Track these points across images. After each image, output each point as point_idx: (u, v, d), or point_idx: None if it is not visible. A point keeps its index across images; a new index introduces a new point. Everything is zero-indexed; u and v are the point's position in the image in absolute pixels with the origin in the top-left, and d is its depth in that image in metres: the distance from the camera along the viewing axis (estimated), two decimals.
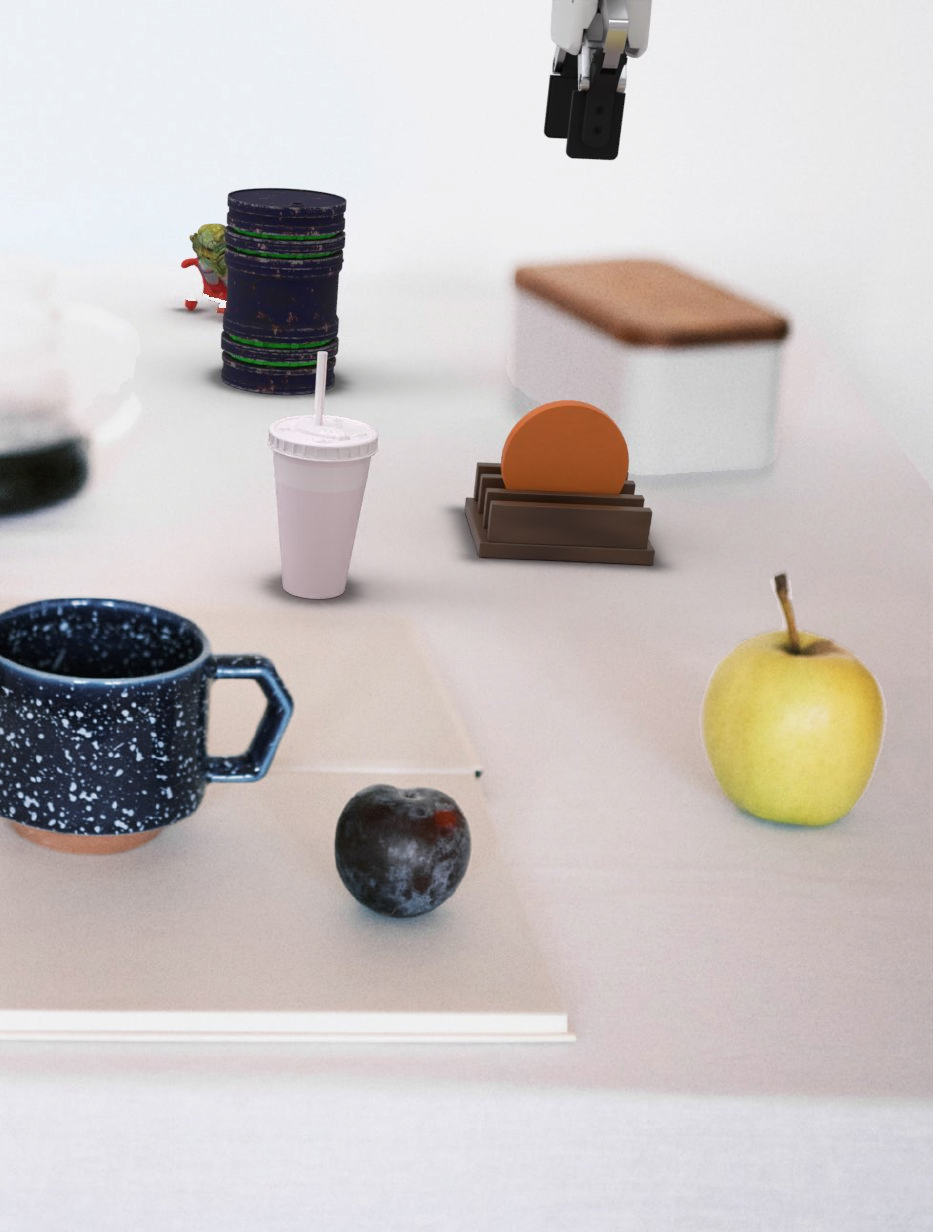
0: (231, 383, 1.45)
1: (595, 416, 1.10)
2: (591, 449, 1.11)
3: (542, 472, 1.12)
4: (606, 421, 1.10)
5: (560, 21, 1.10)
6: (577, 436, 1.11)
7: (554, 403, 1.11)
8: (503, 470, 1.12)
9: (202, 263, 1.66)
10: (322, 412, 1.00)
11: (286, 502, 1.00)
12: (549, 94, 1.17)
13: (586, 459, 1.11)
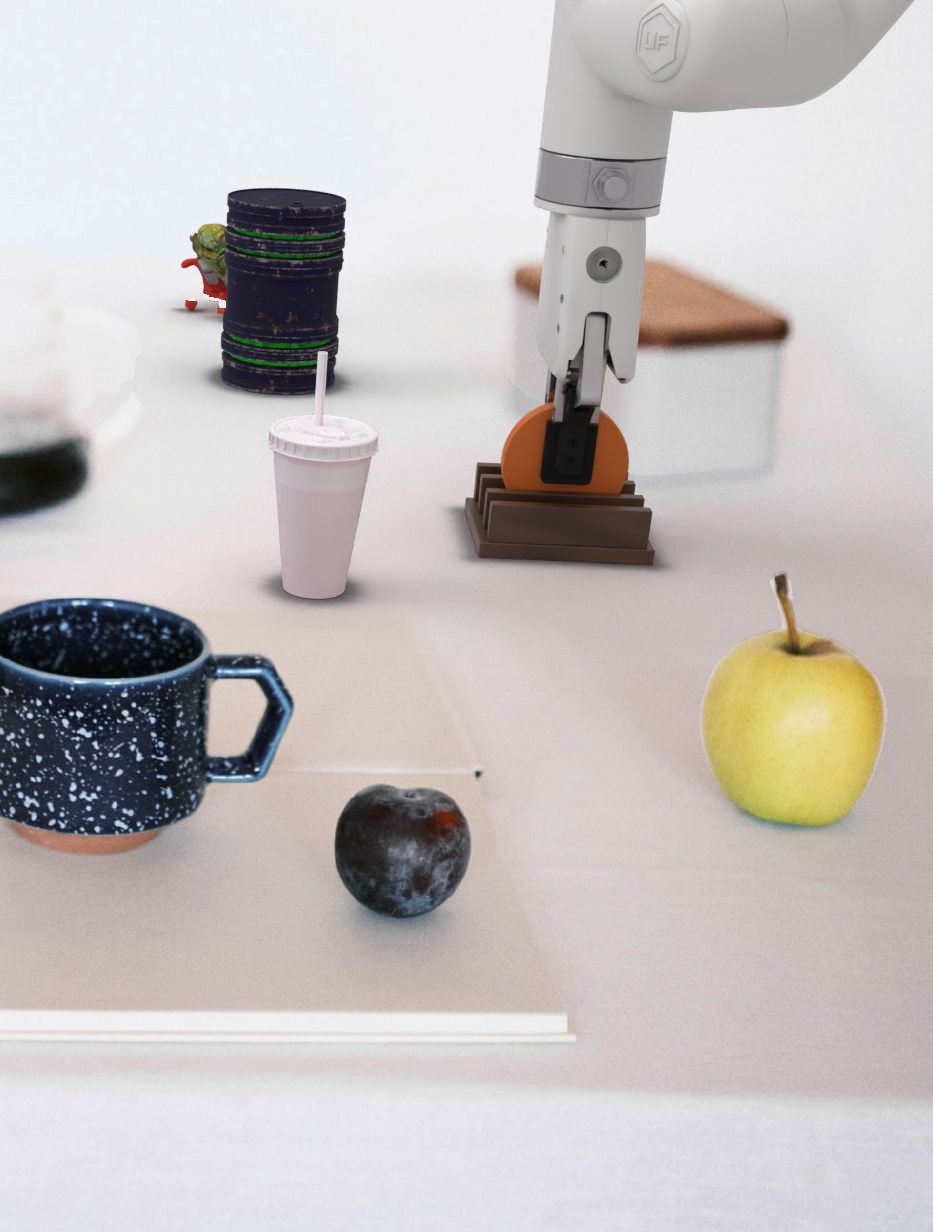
0: (231, 383, 1.45)
1: None
2: None
3: None
4: (606, 421, 1.10)
5: (545, 341, 1.08)
6: None
7: None
8: (503, 470, 1.12)
9: (202, 263, 1.66)
10: (322, 412, 1.00)
11: (286, 502, 1.00)
12: None
13: None
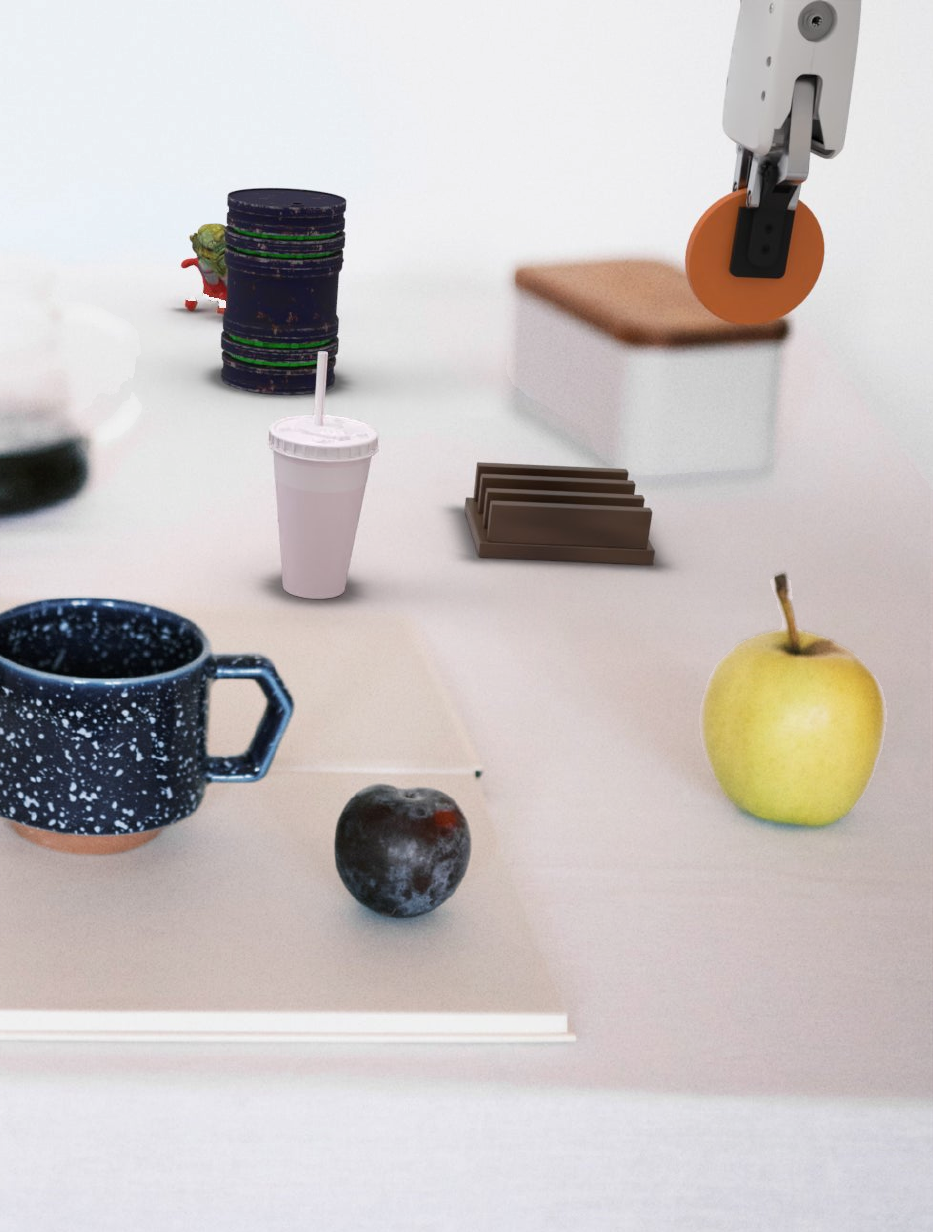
0: (231, 383, 1.45)
1: None
2: None
3: None
4: (802, 208, 1.03)
5: (742, 117, 1.01)
6: None
7: (745, 189, 1.03)
8: (689, 263, 1.05)
9: (202, 263, 1.66)
10: (322, 412, 1.00)
11: (287, 502, 1.00)
12: None
13: None
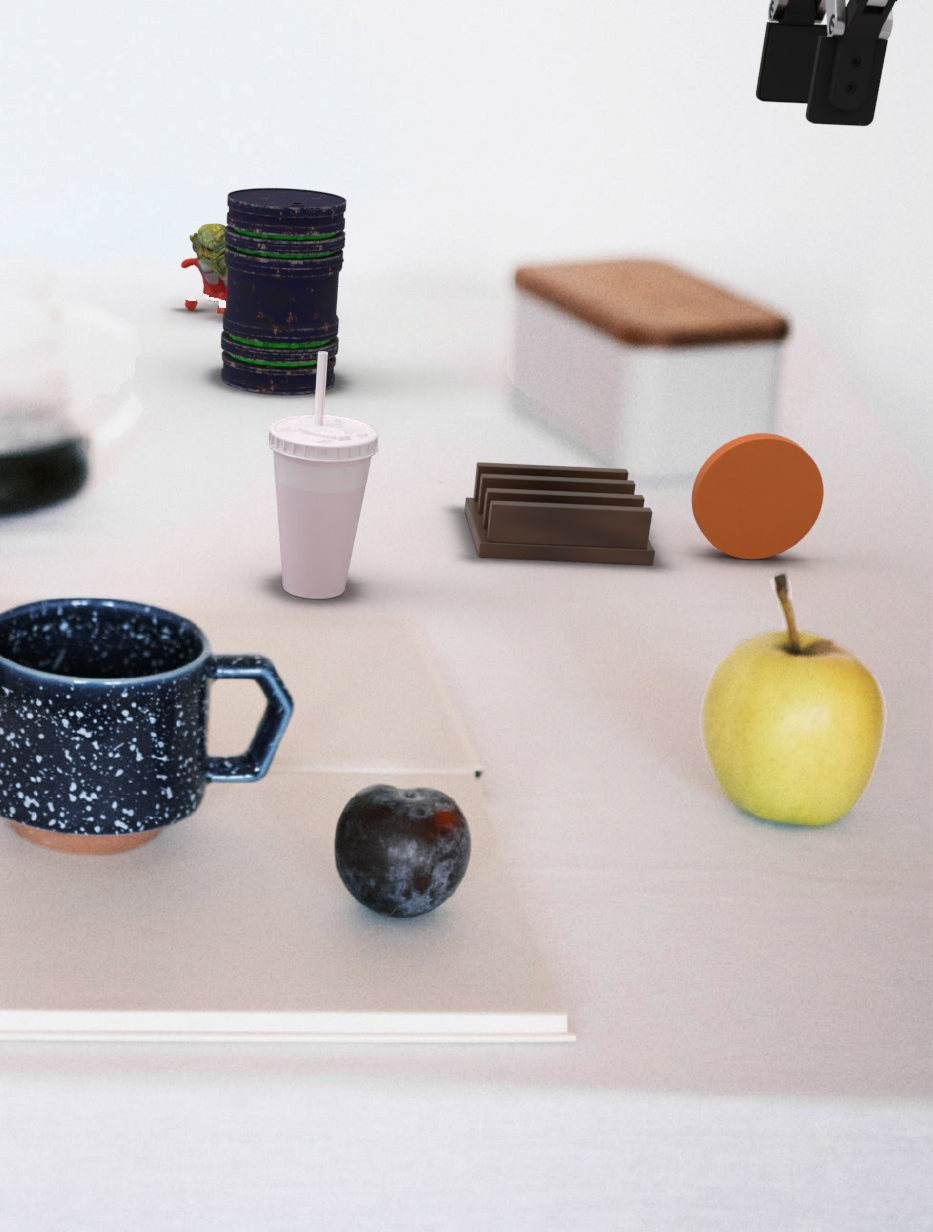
0: (231, 383, 1.45)
1: (802, 458, 1.09)
2: (788, 489, 1.10)
3: (734, 500, 1.10)
4: (811, 465, 1.09)
5: None
6: (779, 473, 1.09)
7: (765, 435, 1.09)
8: (698, 489, 1.10)
9: (202, 263, 1.66)
10: (322, 412, 1.00)
11: (287, 502, 1.00)
12: (766, 46, 0.94)
13: (781, 498, 1.10)
